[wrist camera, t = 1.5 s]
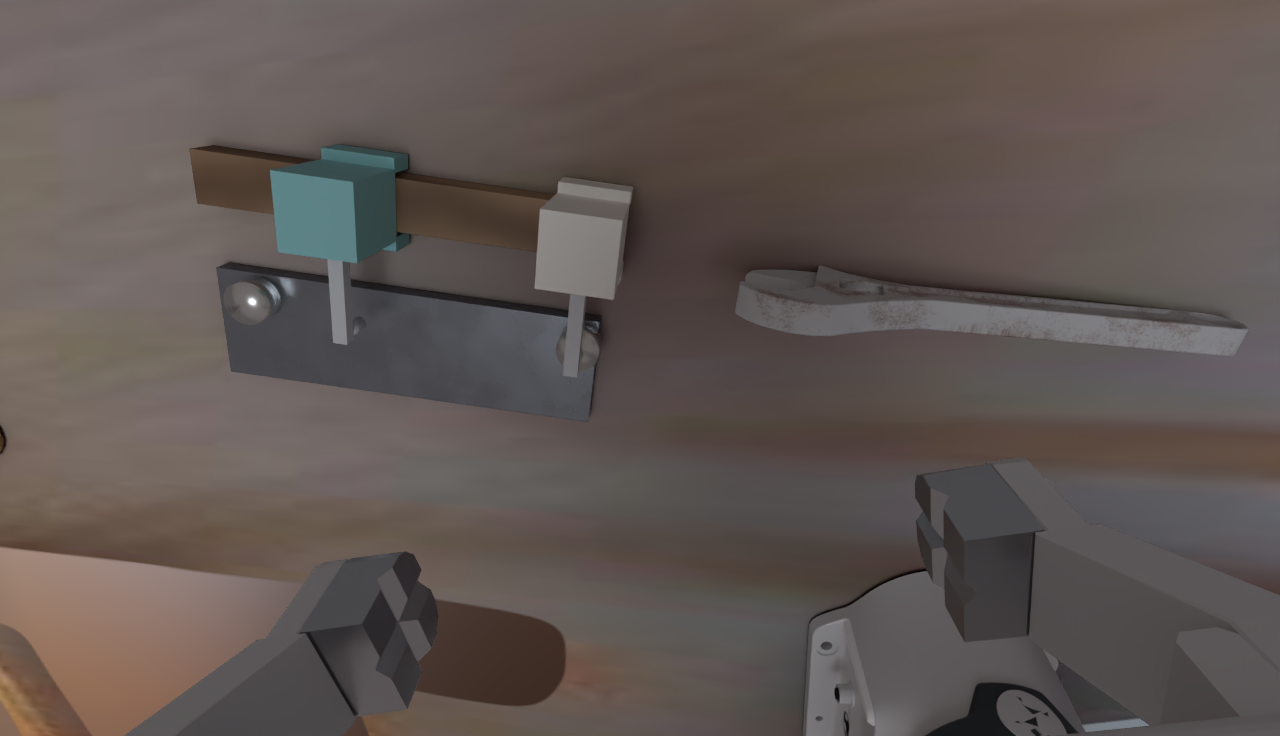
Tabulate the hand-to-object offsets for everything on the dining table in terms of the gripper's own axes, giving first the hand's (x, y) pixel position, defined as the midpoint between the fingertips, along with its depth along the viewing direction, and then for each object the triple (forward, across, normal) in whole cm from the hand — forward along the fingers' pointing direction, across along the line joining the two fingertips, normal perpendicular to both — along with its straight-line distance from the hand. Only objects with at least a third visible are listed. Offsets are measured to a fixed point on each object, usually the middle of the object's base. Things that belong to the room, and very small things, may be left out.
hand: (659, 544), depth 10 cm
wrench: (+30, -17, +10) cm, 36 cm away
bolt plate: (+30, +17, +6) cm, 35 cm away
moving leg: (+30, +17, -1) cm, 34 cm away
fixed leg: (+29, +5, +3) cm, 30 cm away
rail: (+30, +14, -3) cm, 33 cm away
